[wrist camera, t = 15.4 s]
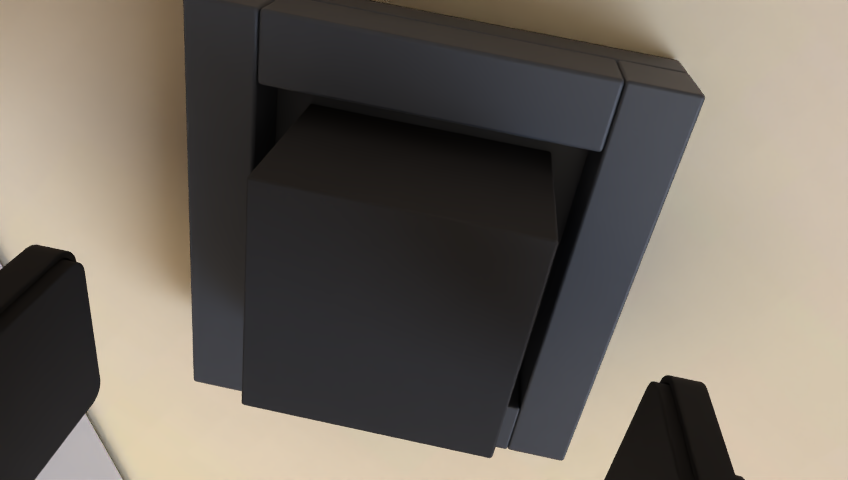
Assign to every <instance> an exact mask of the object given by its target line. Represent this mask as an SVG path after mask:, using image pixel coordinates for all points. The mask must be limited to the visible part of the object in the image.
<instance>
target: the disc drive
mask: <svg viewBox="0 0 848 480" xmlns="http://www.w3.org/2000/svg"><path fill="white" fill-rule="evenodd" d="M2 268H3V267H2V265H1V264H0V270H1V269H2ZM35 480H123V479H122V477H121V476H120V474H119V472H118V470H117V469H116V467H115V465H114V463H113V461H112V460H111V458H110V456H109V454H108V453H107V451H106V449H105V447H104V446H103V444H102V442H101V440H100V439H99V437H98V435H97V433H96V431H95V430H94V428H93V426H92V424H91V423H90V421H89V419H88V417H87V416H86V414H84V416H83V417H82V418H81V420H80V421H79V422H78V424H77V425H76V426H75V428H74V429H73V430H72V432H71V433H70V434H69V436H68V437H67V438H66V439H65V441H64V442H63V443H62V445H61V446H60V447H59V449H58V450H57V451H56V453H55V454H54V455H53V457H52V458H51V459H50V461H49V462H48V463H47V465H46V466H45V467H44V468H43V470H42V471H41V472H40V474H39V475H38V476H37V478H36V479H35Z"/></svg>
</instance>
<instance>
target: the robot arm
mask: <svg viewBox="0 0 848 480" xmlns="http://www.w3.org/2000/svg"><path fill="white" fill-rule="evenodd" d="M99 388H100V375H99V368H98V361H97V354H96V347H95V340H94V333H93V326H92V319H91V312H90V305H89V298H88V291H87V284H86V278H85V271H84V267H83V265H82V264H81V263H78V262H76V259H75V256H74V255H73V254H72V253H71V252H69V251H64V250H60V249H55V248H50V247H45V246H40V245H31V246H29V247H28V248H26V249H25V250H24V251H22V252H21V253H20V254H19V255H18V256H16V257H15V258H14V259H13V260H12V261H10V262H9V263H8V264H7V265H6V266H4V267H3V268H2V269H1V270H0V480H35V479H36V478H37V476H38V475H39V474H40V472H41V471H42V470H43V468H44V467H45V466H46V465H47V463H48V462H49V461H50V459H51V458H52V457H53V455H54V454H55V453H56V451H57V450H58V449H59V447H60V446H61V445H62V443H63V442H64V441H65V439H66V438H67V437H68V436H69V434H70V433H71V432H72V430H73V429H74V428H75V426H76V425H77V424H78V422H79V421H80V420H81V418H82V417H83V416H84V414H85V413H86V412H87V411H88V409H89V408H90V407H91V405H92V404H93V402H94V401H95V399H96V397H97V395H98V392H99ZM604 480H745V479H744V478H743V477H741V476H737V475H735V473H734V470H733V467H732V464H731V461H730V458H729V455H728V452H727V448H726V445H725V442H724V439H723V436H722V433H721V430H720V427H719V424H718V421H717V418H716V415H715V412H714V409H713V406H712V403H711V399H710V396H709V393H708V390H707V388H706V386H705V384H703V383H702V382H698V381H693V380H688V379H684V378H679V377H674V376H669V375H667V376H664V377H663V378H662V380H661V381H660V383H658V382H651V383H650V384H649V385H648V387H647V389H646V391H645V393H644V395H643V397H642V400H641V402H640V404H639V406H638V408H637V410H636V413H635V415H634V417H633V419H632V421H631V423H630V425H629V428H628V430H627V432H626V434H625V436H624V438H623V441H622V443H621V445H620V447H619V449H618V451H617V454H616V456H615V458H614V460H613V462H612V464H611V467H610V469H609V471H608V473H607V475H606V477H605V479H604Z"/></svg>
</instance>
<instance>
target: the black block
mask: <svg viewBox="0 0 848 480" xmlns="http://www.w3.org/2000/svg"><path fill="white" fill-rule="evenodd" d="M557 246H558V230H557V218H556V206H555V194H554V181H553V169H552V157H551V153H550V152H548V151H543V150H538V149H533V148H528V147H523V146H518V145H513V144H508V143H503V142H498V141H493V140H488V139H483V138H478V137H473V136H468V135H463V134H458V133H453V132H449V131H444V130H439V129H434V128H429V127H424V126H419V125H414V124H409V123H404V122H399V121H394V120H389V119H384V118H379V117H374V116H369V115H364V114H359V113H354V112H349V111H344V110H339V109H334V108H329V107H324V106H319V105H314V104H310V105H309V106H308V107H307V109H306V110H305V111H304V112H303V113H302V114H301V116H300V117H299V118H298V119H297V120H296V121H295V123H294V124H293V125H292V126H291V127H290V128H289V130H288V131H287V132H286V133H285V134H284V135H283V136H282V138H281V139H280V140H279V141H278V142H277V143H276V145H275V146H274V147H273V148H272V149H271V150H270V152H269V153H268V154H267V155H266V156H265V157H264V159H263V160H262V161H261V162H260V163H259V164H258V166H257V167H256V168H255V169H254V170H253V171H252V173H251V174H250V175H249V176H248V177H247V193H246V237H245V280H244V324H243V368H242V404H244V405H248V406H252V407H257V408H262V409H266V410H271V411H275V412H280V413H285V414H289V415H294V416H298V417H303V418H308V419H312V420H317V421H321V422H326V423H331V424H335V425H340V426H344V427H349V428H354V429H358V430H363V431H368V432H372V433H377V434H381V435H386V436H391V437H395V438H400V439H404V440H409V441H414V442H418V443H423V444H427V445H432V446H437V447H441V448H446V449H450V450H455V451H460V452H464V453H469V454H473V455H478V456H483V457H487V458H491V457H492V456H493V453H494V450H495V446H496V443H497V440H498V437H499V433H500V430H501V427H502V424H503V420H504V417H505V414H506V411H507V408H508V404H509V401H510V398H511V395H512V391H513V388H514V385H515V382H516V378H517V375H518V372H519V369H520V366H521V362H522V359H523V356H524V353H525V349H526V346H527V343H528V340H529V336H530V333H531V330H532V327H533V324H534V320H535V317H536V314H537V311H538V307H539V304H540V301H541V298H542V294H543V291H544V288H545V285H546V282H547V278H548V275H549V272H550V269H551V265H552V262H553V259H554V256H555V252H556V249H557Z"/></svg>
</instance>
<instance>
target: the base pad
mask: <svg viewBox="0 0 848 480" xmlns="http://www.w3.org/2000/svg"><path fill="white" fill-rule="evenodd" d="M183 8H184V44H185V79H186V115H187V151H188V187H189V223H190V258H191V294H192V330H193V366H194V380H195V381H197V382H202V383H206V384H211V385H215V386H220V387H225V388H229V389H234V390H239V391H242V368H243V324H244V280H245V237H246V193H247V177H248V176H249V175H250V174H251V173H252V171H253V170H254V169H255V168H256V167H257V166H258V164H259V163H260V162H261V161H262V160H263V159H264V157H265V156H266V155H267V154H268V153H269V152H270V150H271V149H272V148H273V147H274V146H275V145H276V143H277V142H278V141H279V140H280V139H281V138H282V136H283V135H284V134H285V133H286V132H287V131H288V130H289V128H290V127H291V126H292V125H293V124H294V123H295V121H296V120H297V119H298V118H299V117H300V116H301V114H302V113H303V112H304V111H305V110H306V109H307V107H308V106H309V105H310V104H314V105H319V106H324V107H329V108H334V109H339V110H344V111H349V112H354V113H359V114H364V115H369V116H374V117H379V118H384V119H389V120H394V121H399V122H404V123H409V124H414V125H419V126H424V127H429V128H434V129H439V130H444V131H449V132H453V133H458V134H463V135H468V136H473V137H478V138H483V139H488V140H493V141H498V142H503V143H508V144H513V145H518V146H523V147H528V148H533V149H538V150H543V151H548V152H550V153H551V157H552V169H553V181H554V194H555V206H556V218H557V230H558V246H557V249H556V252H555V256H554V259H553V262H552V265H551V269H550V272H549V275H548V278H547V282H546V285H545V288H544V291H543V294H542V298H541V301H540V304H539V307H538V311H537V314H536V317H535V320H534V324H533V327H532V330H531V333H530V336H529V340H528V343H527V346H526V349H525V353H524V356H523V359H522V362H521V366H520V369H519V372H518V375H517V378H516V382H515V385H514V388H513V391H512V395H511V398H510V401H509V404H508V408H507V411H506V414H505V417H504V420H503V424H502V427H501V430H500V433H499V437H498V440H497V443H496V446H495V447H499V448H504V449H506V448H507V447H508V449H510V450H514V451H519V452H524V453H528V454H533V455H538V456H542V457H547V458H551V459H556V460H563V459H564V457H565V455H566V452H567V450H568V447H569V444H570V442H571V439H572V437H573V434H574V432H575V429H576V427H577V424H578V421H579V419H580V416H581V414H582V411H583V409H584V406H585V404H586V401H587V398H588V396H589V393H590V391H591V388H592V386H593V383H594V381H595V378H596V375H597V373H598V370H599V368H600V365H601V363H602V360H603V358H604V355H605V352H606V350H607V347H608V345H609V342H610V340H611V337H612V335H613V332H614V329H615V327H616V324H617V322H618V319H619V317H620V314H621V312H622V309H623V306H624V304H625V301H626V299H627V296H628V294H629V291H630V289H631V286H632V283H633V281H634V278H635V276H636V273H637V271H638V268H639V266H640V263H641V261H642V258H643V255H644V253H645V250H646V248H647V245H648V243H649V240H650V238H651V235H652V232H653V230H654V227H655V225H656V222H657V220H658V217H659V215H660V212H661V209H662V207H663V204H664V202H665V199H666V197H667V194H668V192H669V189H670V186H671V184H672V181H673V179H674V176H675V174H676V171H677V169H678V166H679V163H680V161H681V158H682V156H683V153H684V151H685V148H686V146H687V143H688V140H689V138H690V135H691V133H692V130H693V128H694V125H695V123H696V120H697V117H698V115H699V112H700V110H701V107H702V105H703V102H704V100H705V96H704V94H703V93H702V92H701V90H700V89H699V88H698V86H697V85H696V83H695V82H694V81H693V79H692V78H691V77H690V75H688V73H687V72H686V70H685V69H684V67H683V66H682V65H681V63H680V62H679V61H677V60H673V59H667V58H662V57H657V56H652V55H647V54H642V53H637V52H632V51H626V50H621V49H616V48H611V47H606V46H601V45H596V44H590V43H585V42H580V41H575V40H570V39H565V38H560V37H554V36H549V35H544V34H539V33H534V32H529V31H524V30H519V29H513V28H508V27H503V26H498V25H493V24H488V23H483V22H477V21H472V20H467V19H462V18H457V17H452V16H447V15H442V14H436V13H431V12H426V11H421V10H416V9H411V8H406V7H400V6H395V5H390V4H385V3H380V2H375V1H370V0H183Z"/></svg>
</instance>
